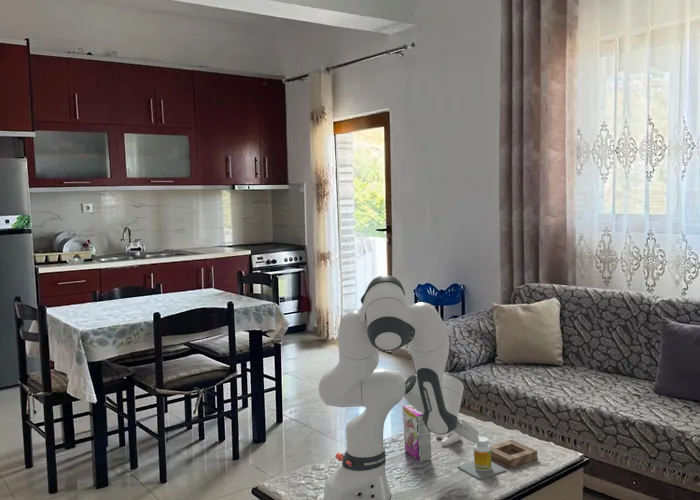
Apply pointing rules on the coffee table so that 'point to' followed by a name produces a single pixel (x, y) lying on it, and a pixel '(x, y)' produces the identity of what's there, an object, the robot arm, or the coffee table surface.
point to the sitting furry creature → (449, 438)
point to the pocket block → (519, 458)
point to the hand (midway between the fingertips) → (467, 436)
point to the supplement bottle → (482, 455)
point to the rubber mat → (480, 475)
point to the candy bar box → (416, 434)
